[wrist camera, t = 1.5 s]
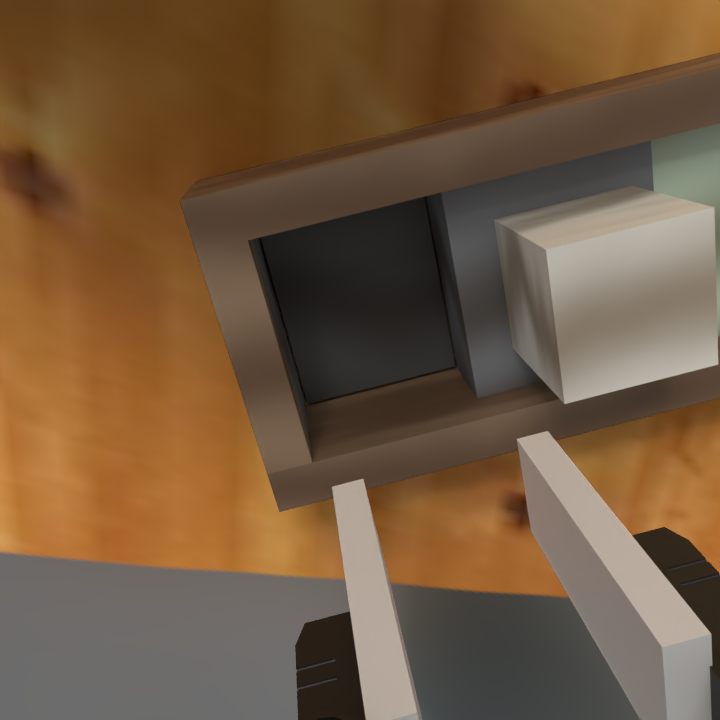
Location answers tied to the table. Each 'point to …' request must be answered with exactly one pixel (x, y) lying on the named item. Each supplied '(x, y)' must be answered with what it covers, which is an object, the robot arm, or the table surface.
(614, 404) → the trap box
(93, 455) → the table surface
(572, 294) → the block
